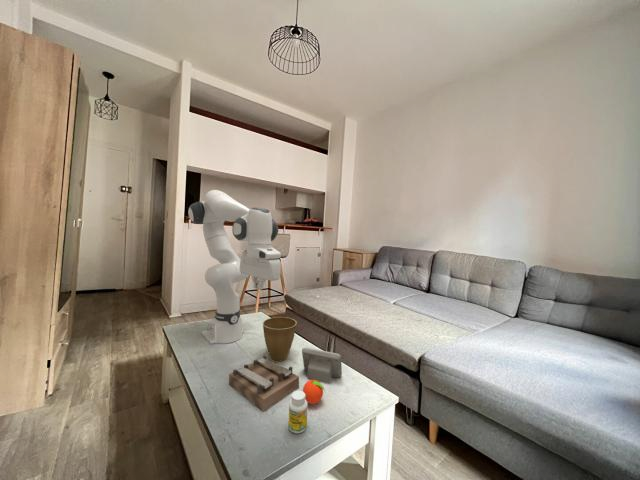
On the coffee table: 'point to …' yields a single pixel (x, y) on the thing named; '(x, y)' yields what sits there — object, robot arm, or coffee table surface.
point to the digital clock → (321, 364)
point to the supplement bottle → (298, 412)
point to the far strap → (274, 366)
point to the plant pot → (279, 336)
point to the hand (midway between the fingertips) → (258, 288)
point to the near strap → (254, 377)
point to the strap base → (256, 392)
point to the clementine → (313, 391)
